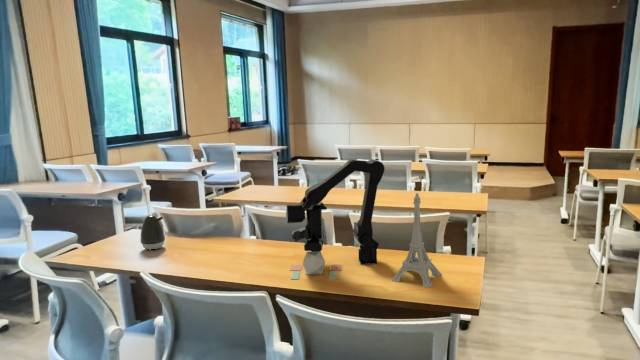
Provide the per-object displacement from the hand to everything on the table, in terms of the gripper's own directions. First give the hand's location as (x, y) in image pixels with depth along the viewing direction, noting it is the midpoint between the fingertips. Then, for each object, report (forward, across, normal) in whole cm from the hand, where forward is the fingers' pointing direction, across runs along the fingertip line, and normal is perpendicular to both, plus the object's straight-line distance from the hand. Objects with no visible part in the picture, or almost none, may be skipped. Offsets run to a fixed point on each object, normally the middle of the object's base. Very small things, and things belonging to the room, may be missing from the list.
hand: (315, 261), depth 166 cm
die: (+2, +6, 0) cm, 7 cm away
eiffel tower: (+2, +11, +36) cm, 38 cm away
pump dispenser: (+3, -24, -74) cm, 78 cm away
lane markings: (+2, +5, 0) cm, 6 cm away
